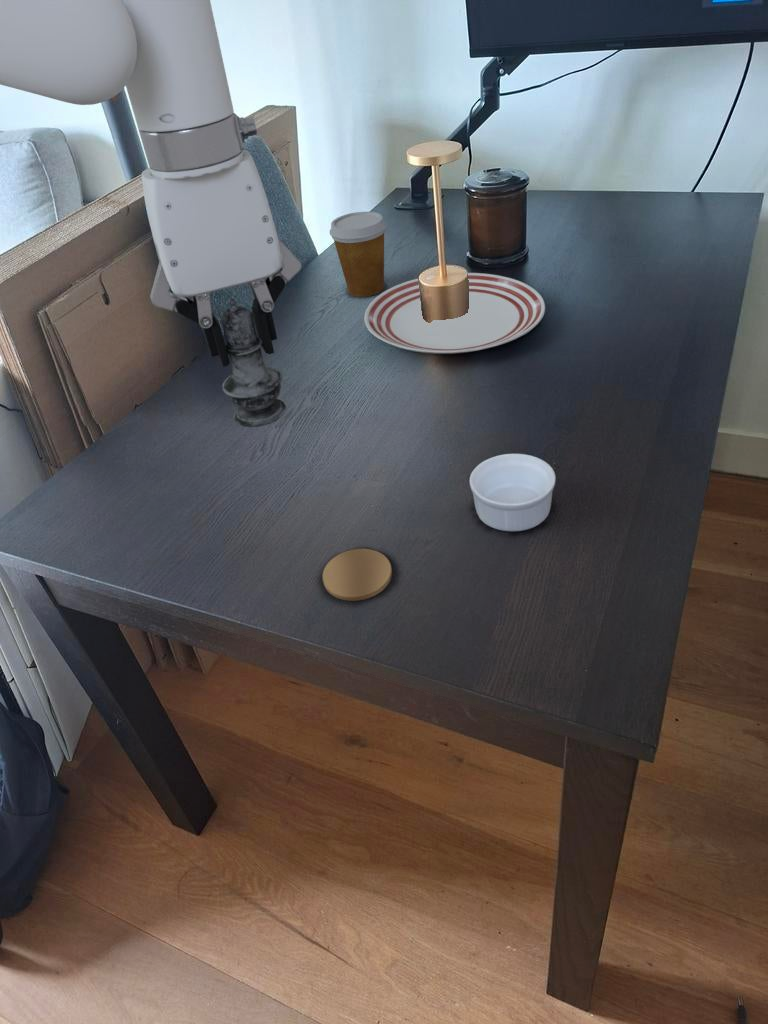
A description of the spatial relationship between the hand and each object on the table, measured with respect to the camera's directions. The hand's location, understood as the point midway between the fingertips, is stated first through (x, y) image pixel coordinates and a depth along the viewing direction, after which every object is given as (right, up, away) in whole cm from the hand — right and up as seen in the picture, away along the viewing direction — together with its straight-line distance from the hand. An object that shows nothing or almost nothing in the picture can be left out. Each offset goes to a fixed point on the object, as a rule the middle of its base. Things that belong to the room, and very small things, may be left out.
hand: (245, 352), depth 72 cm
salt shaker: (+1, -5, +4) cm, 7 cm away
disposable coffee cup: (+10, +24, +61) cm, 67 cm away
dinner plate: (+24, +14, +46) cm, 54 cm away
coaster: (+10, -22, +5) cm, 24 cm away
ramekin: (+27, -15, +10) cm, 33 cm away
